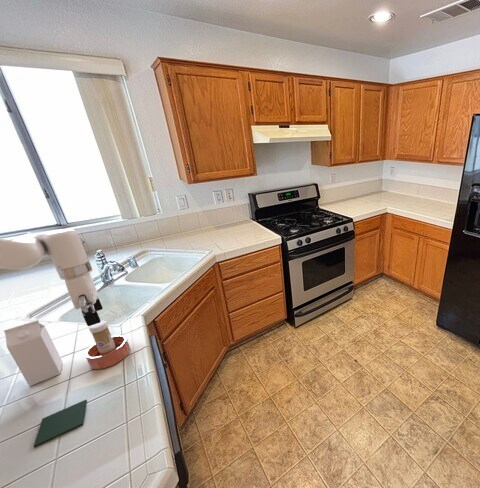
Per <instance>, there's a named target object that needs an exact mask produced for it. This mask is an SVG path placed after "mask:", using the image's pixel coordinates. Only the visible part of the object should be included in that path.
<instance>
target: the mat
mask: <svg viewBox="0 0 480 488" xmlns="http://www.w3.org/2000/svg"><path fill="white" fill-rule="evenodd" d="M87 402H88V400H87V399H84V400H82V401H78V402H77V403H75V404H72V405H69V406H68V407H65V408H63V409H60V410H59V411H56V412H54V413H52V414H49V415H47V416H45V417H43V418H42V419H41V422H40V424H39V428H38V431H37V434H36V437H35V440H34V444H33V448H34V449H35V448H38V447H40V446H42V445H44V444H46V443H48V442H50V441H52V440H55V439H57V438H59V437H61V436H63V435H65V434H66V433H70V432H71V431H74V430H75V429H78V428H80V427H82V426H84V422H85V415H86V410H87Z"/></svg>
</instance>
